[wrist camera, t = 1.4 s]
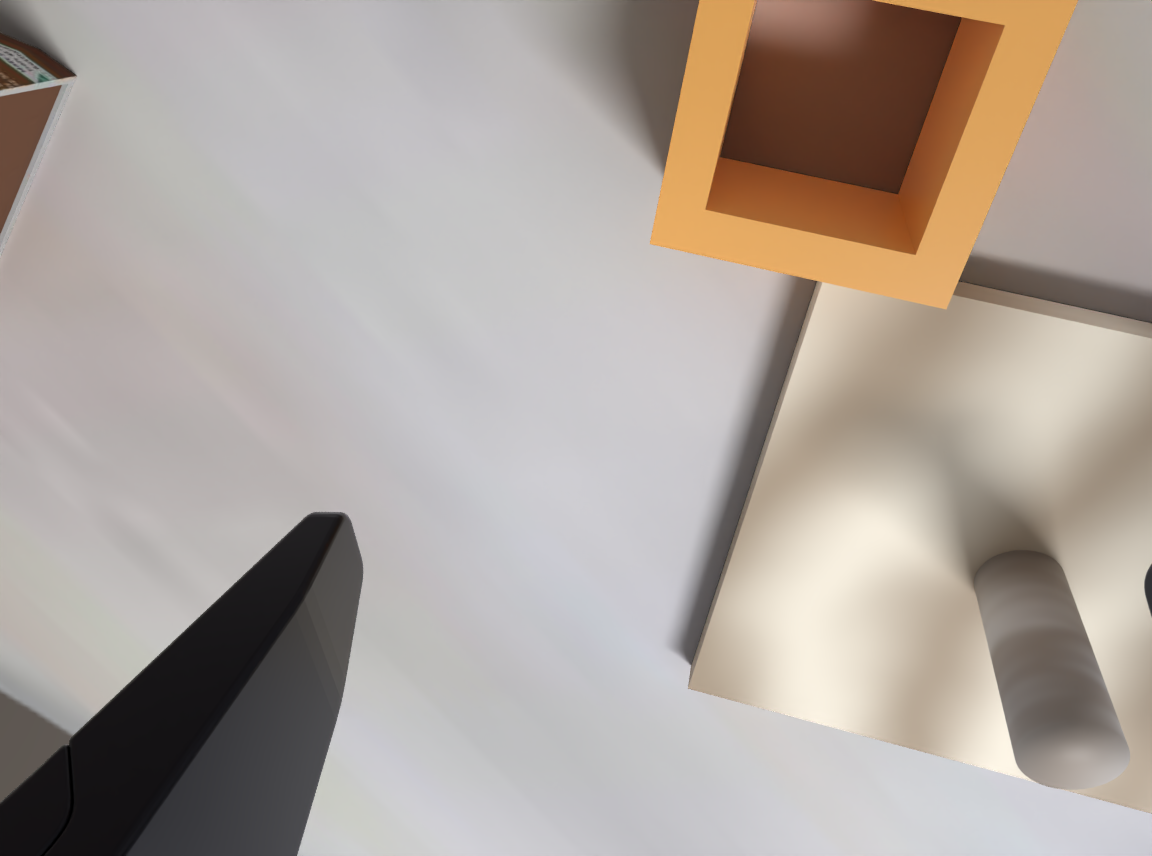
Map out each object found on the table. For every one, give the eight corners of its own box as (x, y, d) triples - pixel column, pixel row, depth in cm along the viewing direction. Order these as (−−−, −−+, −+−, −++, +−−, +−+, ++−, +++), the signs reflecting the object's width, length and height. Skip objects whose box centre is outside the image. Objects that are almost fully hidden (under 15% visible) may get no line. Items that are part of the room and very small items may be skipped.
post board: (1496, 398, 21) (1758, 602, 15) (1151, 790, 30) (1234, 1011, 24) (826, 252, 22) (834, 387, 17) (690, 666, 31) (666, 847, 26)
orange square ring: (1037, -48, 18) (1089, -27, 15) (924, 241, 22) (946, 309, 18) (733, -102, 19) (718, -95, 16) (672, 187, 22) (650, 244, 19)
